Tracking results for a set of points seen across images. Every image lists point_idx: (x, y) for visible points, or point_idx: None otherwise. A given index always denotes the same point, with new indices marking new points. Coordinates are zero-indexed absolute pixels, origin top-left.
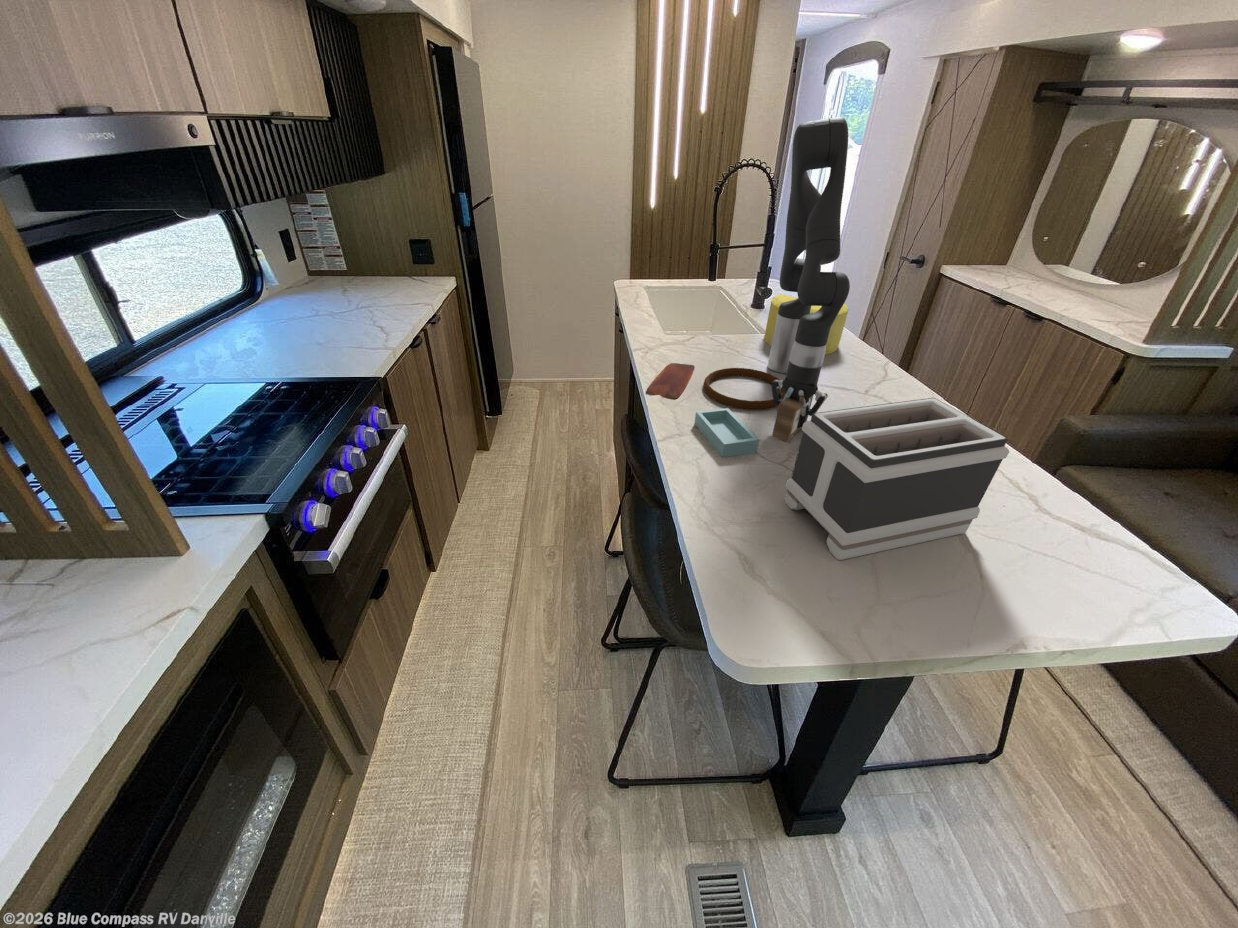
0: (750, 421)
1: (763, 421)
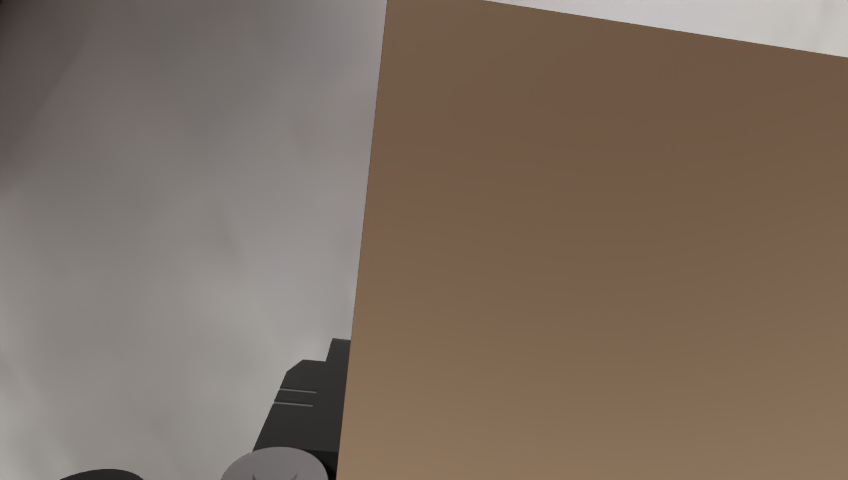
0: (38, 400)
1: (149, 323)
